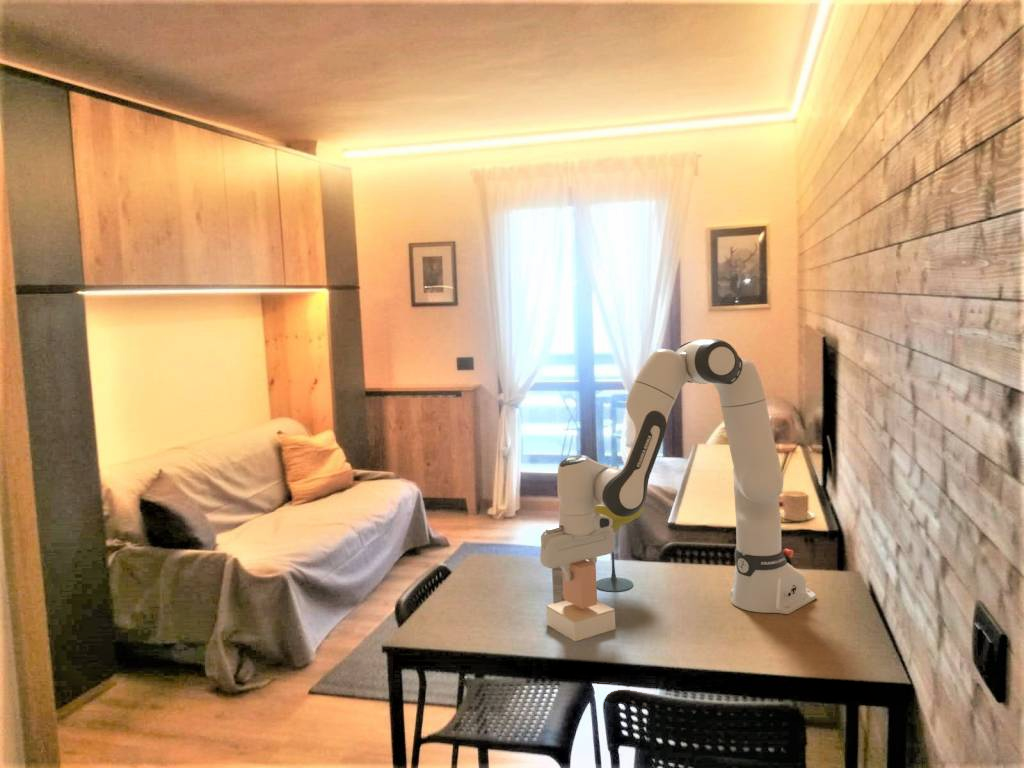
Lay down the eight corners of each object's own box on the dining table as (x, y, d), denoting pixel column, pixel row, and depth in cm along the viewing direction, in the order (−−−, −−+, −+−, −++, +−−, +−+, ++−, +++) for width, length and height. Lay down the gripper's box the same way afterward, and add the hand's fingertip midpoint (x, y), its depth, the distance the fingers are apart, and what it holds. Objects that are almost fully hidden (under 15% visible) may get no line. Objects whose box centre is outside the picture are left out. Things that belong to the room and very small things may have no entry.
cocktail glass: (585, 573, 229) (582, 490, 226) (647, 574, 225) (644, 490, 223) (578, 595, 211) (574, 506, 209) (645, 597, 207) (642, 506, 205)
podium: (586, 613, 199) (586, 594, 198) (615, 629, 188) (614, 609, 188) (547, 624, 193) (546, 605, 192) (574, 641, 182) (574, 621, 182)
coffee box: (557, 591, 215) (555, 535, 214) (580, 592, 214) (578, 535, 212) (552, 604, 206) (550, 545, 205) (576, 604, 205) (574, 545, 203)
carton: (578, 594, 195) (576, 556, 194) (597, 604, 188) (595, 564, 187) (563, 598, 192) (561, 559, 191) (582, 608, 185) (580, 568, 184)
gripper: (548, 533, 180) (550, 590, 182) (617, 517, 190) (619, 572, 192) (533, 527, 186) (536, 583, 187) (602, 512, 196) (604, 565, 197)
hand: (579, 577), depth 189 cm, fingers closed on carton, 4 cm apart
